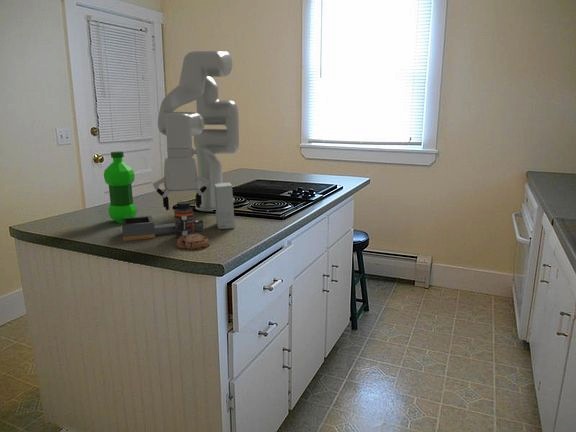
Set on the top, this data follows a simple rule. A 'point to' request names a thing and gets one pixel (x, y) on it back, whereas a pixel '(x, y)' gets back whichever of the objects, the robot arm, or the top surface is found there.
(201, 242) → the cookie
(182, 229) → the supplement bottle
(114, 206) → the plastic bottle
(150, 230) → the grey long handled piece
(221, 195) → the skincare box
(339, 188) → the top surface
